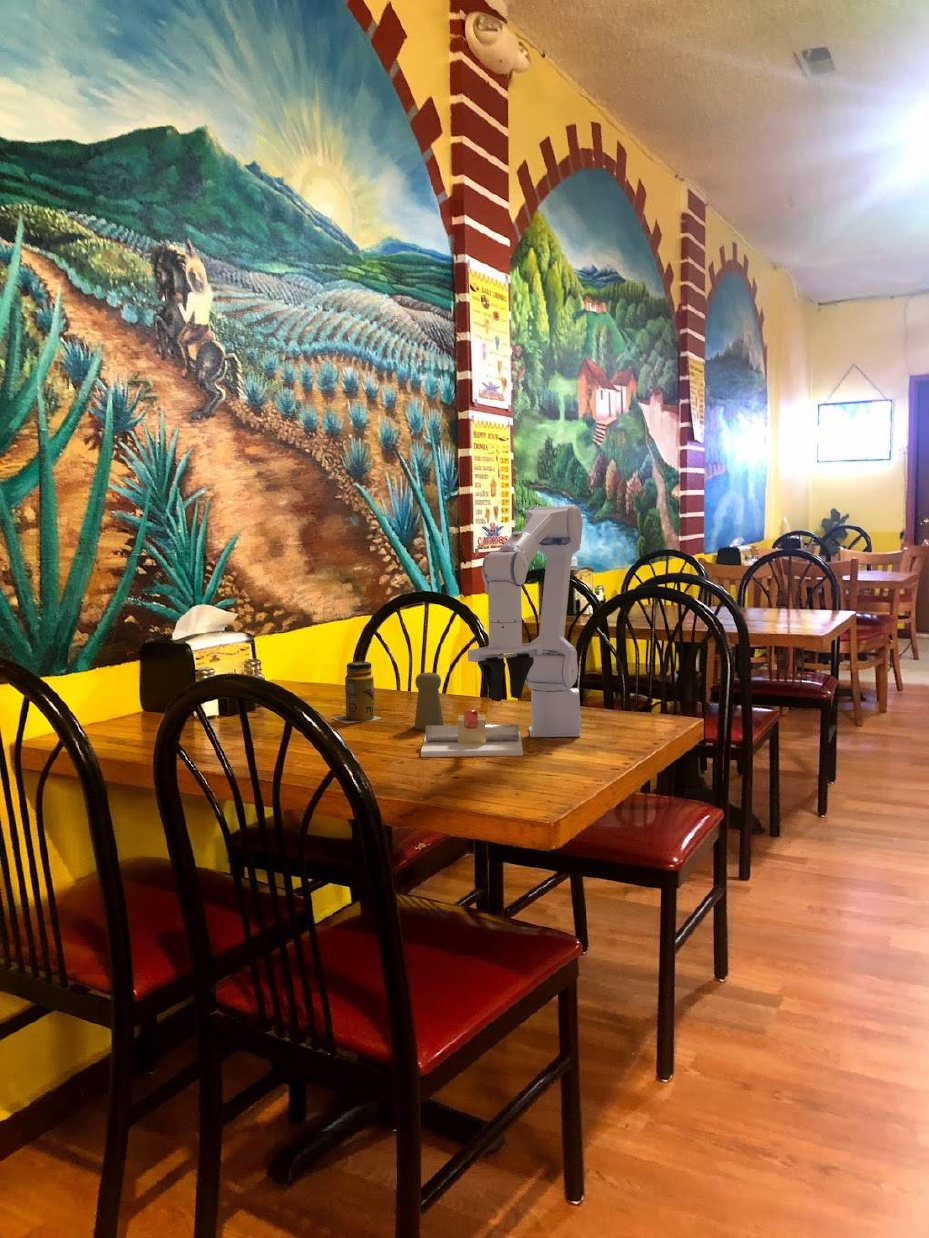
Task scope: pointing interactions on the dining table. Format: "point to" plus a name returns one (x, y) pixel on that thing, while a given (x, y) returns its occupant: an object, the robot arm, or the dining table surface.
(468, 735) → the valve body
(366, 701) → the condiment
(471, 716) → the valve lever
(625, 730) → the dining table surface
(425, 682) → the olive tapered post
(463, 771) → the dining table surface
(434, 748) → the valve board
